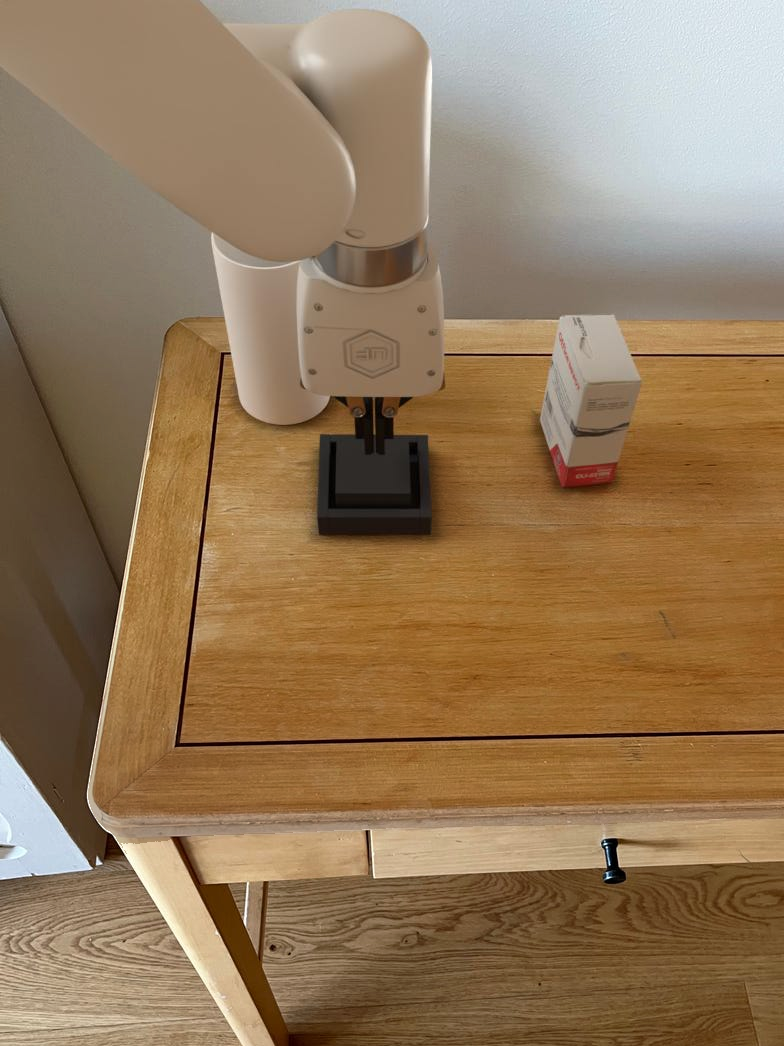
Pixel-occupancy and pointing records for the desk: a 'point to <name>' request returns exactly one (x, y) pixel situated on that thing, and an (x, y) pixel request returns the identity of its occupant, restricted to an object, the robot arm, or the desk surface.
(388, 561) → the desk surface
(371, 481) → the black pad
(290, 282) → the cup
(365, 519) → the socket pad
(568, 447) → the ink box
